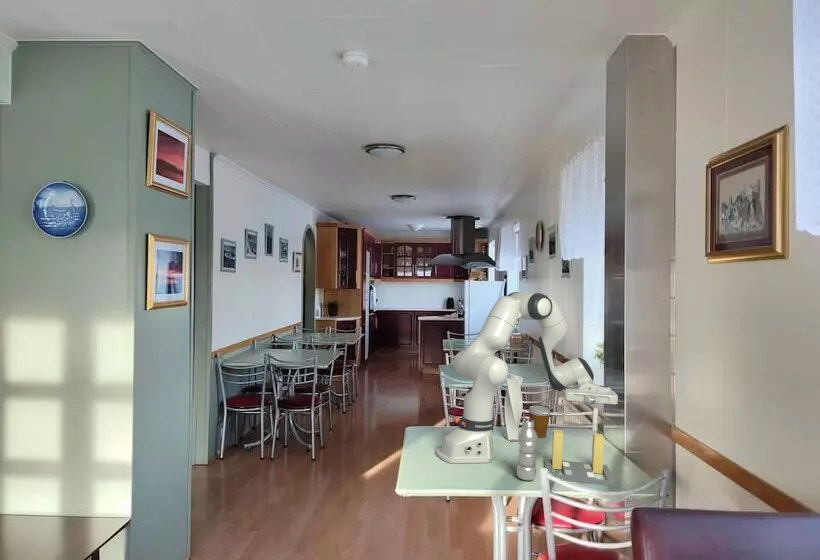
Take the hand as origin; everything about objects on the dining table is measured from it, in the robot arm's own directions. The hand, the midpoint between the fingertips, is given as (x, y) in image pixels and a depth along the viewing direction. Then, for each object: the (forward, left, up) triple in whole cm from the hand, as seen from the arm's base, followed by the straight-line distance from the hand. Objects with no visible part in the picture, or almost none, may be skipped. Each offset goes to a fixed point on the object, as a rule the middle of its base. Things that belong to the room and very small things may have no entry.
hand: (593, 401), depth 205 cm
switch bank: (-16, -13, -22) cm, 30 cm away
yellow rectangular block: (-20, -6, -22) cm, 30 cm away
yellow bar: (-8, -13, -22) cm, 27 cm away
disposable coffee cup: (-5, +29, -22) cm, 37 cm away
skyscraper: (-19, +27, -22) cm, 40 cm away
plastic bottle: (-37, -13, -22) cm, 45 cm away
